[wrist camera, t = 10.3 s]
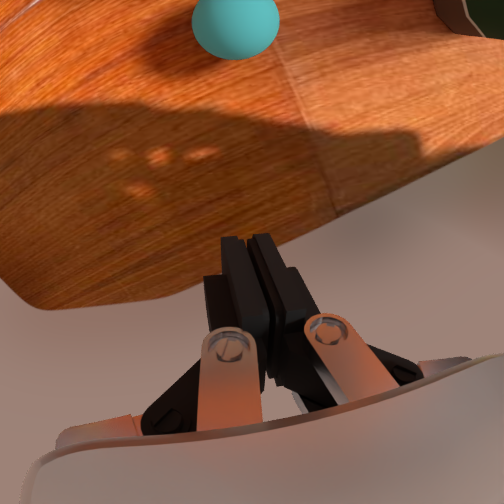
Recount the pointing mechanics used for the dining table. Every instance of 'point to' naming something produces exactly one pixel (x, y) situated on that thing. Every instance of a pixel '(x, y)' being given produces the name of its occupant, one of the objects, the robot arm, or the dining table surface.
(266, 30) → the ball
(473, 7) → the beer bottle
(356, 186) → the dining table surface
